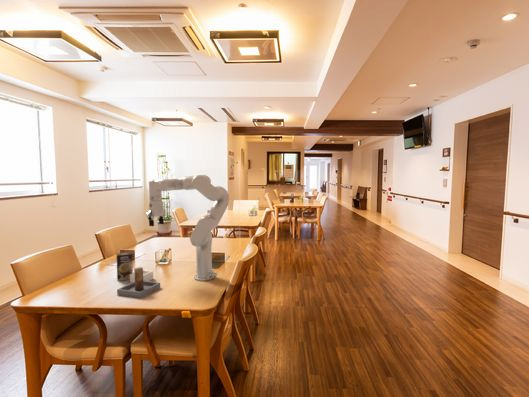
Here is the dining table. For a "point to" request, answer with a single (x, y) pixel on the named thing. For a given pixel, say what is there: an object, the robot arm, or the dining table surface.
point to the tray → (131, 292)
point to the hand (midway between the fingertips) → (156, 224)
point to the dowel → (139, 279)
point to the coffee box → (124, 266)
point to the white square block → (146, 276)
